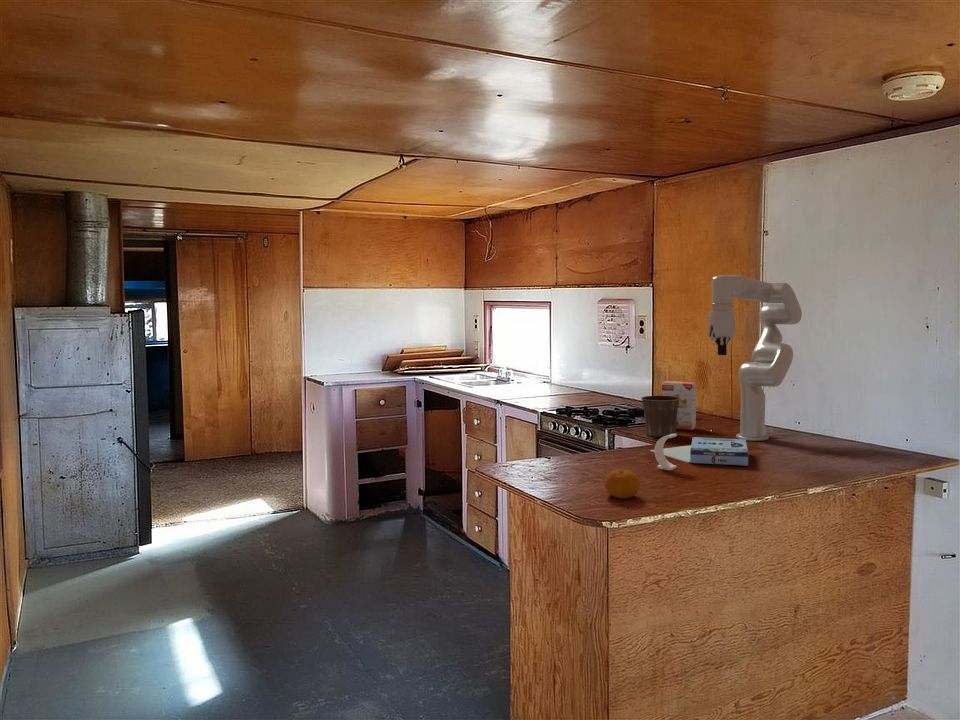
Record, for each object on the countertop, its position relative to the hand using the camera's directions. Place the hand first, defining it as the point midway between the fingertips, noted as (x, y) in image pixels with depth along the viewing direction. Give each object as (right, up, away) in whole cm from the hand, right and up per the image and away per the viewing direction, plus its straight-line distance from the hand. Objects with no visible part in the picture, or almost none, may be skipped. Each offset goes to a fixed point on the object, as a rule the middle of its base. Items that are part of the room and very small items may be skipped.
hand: (722, 354), depth 279 cm
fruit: (-52, -43, -65) cm, 94 cm away
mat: (-16, -37, -10) cm, 42 cm away
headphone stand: (-30, -40, -30) cm, 58 cm away
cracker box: (-5, -33, +42) cm, 54 cm away
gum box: (-4, -34, -7) cm, 35 cm away
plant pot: (-17, -34, +27) cm, 47 cm away
